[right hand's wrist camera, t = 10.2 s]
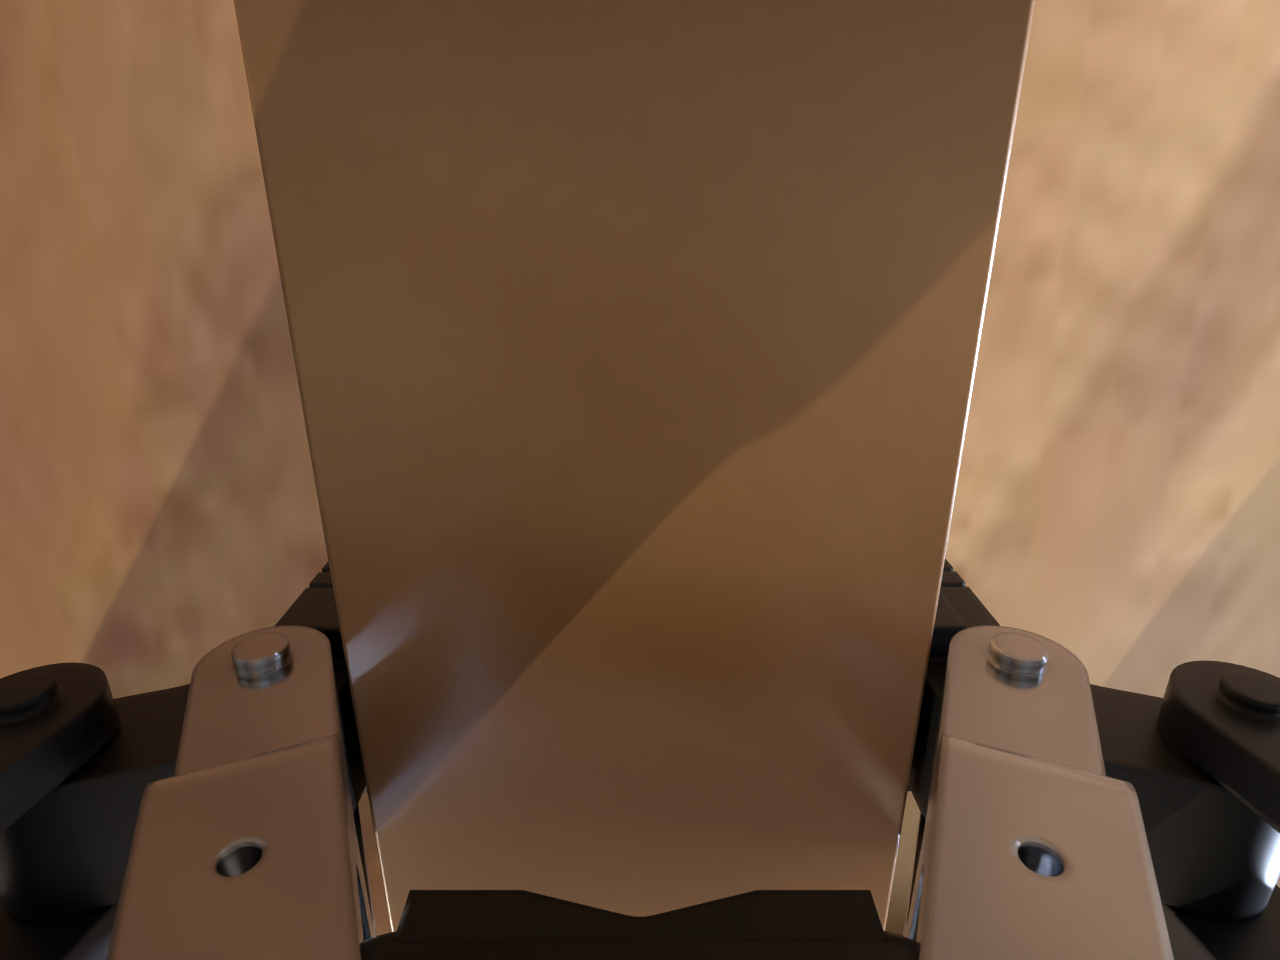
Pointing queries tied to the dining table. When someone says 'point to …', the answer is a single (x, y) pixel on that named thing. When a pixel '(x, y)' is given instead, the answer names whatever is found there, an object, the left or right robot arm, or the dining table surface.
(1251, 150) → the dining table surface
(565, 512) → the bar
